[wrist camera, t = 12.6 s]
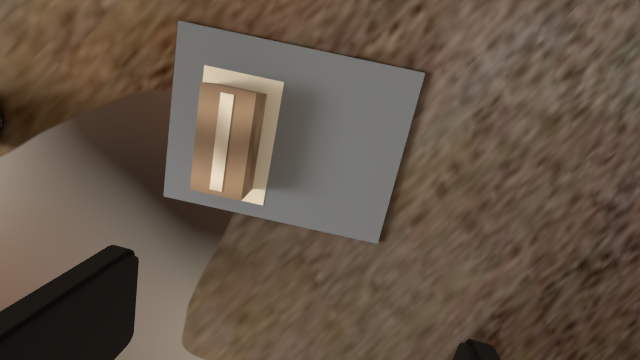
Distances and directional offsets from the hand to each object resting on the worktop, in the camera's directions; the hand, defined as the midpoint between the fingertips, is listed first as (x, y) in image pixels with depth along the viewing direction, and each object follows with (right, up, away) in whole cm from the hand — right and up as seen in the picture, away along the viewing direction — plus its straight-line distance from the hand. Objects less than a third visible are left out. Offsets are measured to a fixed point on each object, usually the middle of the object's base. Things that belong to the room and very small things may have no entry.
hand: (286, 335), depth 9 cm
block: (-8, +9, +24) cm, 27 cm away
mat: (-3, +9, +24) cm, 26 cm away
